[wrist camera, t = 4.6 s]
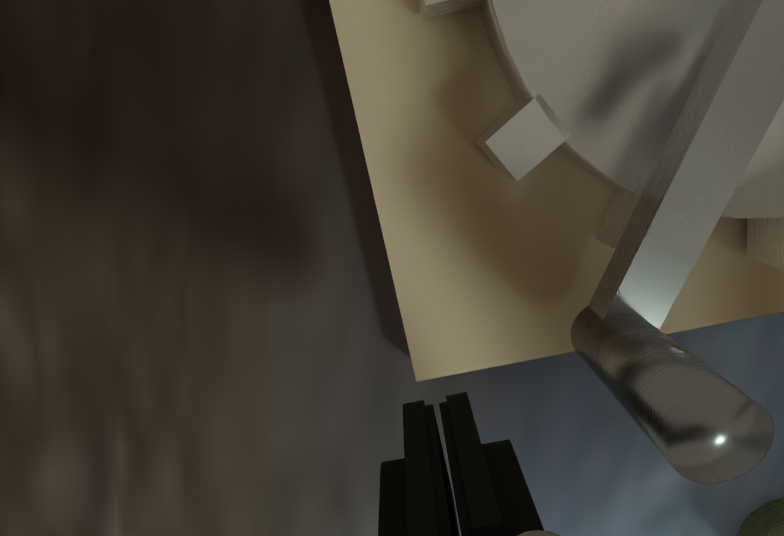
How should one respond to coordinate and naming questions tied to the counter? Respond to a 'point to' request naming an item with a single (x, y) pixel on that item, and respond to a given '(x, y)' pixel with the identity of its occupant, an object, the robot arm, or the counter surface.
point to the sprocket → (653, 182)
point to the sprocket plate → (494, 204)
